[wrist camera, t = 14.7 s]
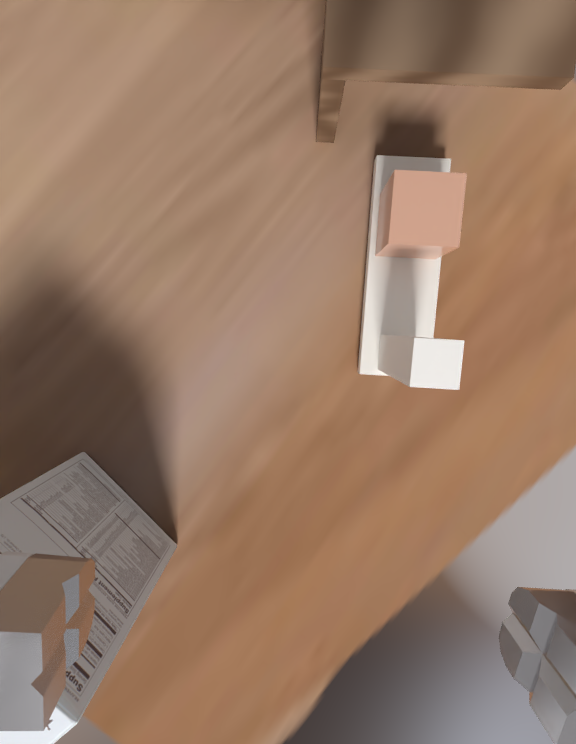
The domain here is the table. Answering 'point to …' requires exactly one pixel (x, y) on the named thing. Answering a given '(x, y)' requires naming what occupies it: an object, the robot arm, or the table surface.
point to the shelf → (444, 46)
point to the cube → (420, 214)
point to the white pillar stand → (404, 303)
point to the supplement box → (112, 567)
